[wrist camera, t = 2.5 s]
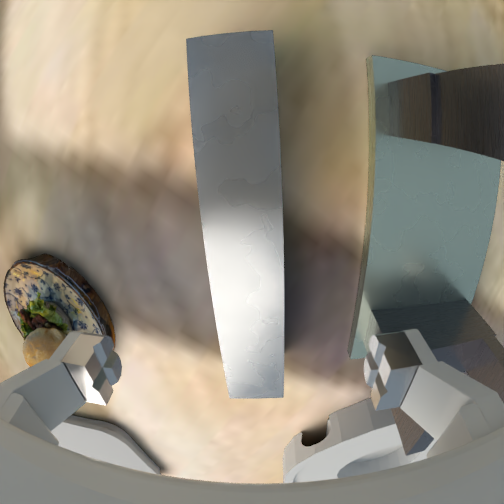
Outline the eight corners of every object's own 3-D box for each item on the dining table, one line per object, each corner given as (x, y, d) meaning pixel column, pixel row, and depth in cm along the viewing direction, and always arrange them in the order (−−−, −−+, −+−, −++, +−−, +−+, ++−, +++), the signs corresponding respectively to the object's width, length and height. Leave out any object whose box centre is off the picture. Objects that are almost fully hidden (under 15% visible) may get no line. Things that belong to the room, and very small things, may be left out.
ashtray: (286, 483, 34) (287, 505, 30) (275, 407, 25) (275, 442, 21) (427, 454, 32) (433, 473, 28) (483, 360, 23) (499, 385, 19)
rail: (205, 59, 13) (186, 39, 9) (270, 54, 13) (272, 30, 9) (234, 352, 22) (229, 398, 18) (280, 351, 21) (283, 397, 17)
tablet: (171, 473, 34) (169, 485, 32) (55, 446, 37) (51, 455, 35) (122, 418, 28) (116, 433, 26) (4, 391, 30) (-2, 400, 28)
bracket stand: (366, 58, 13) (485, 2, 3) (492, 90, 12) (610, 102, 3) (347, 350, 21) (379, 471, 11) (451, 335, 20) (505, 425, 11)
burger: (36, 222, 18) (-30, 266, 11) (142, 328, 21) (106, 402, 14) (3, 300, 21) (-38, 343, 15) (84, 378, 25) (55, 431, 18)
